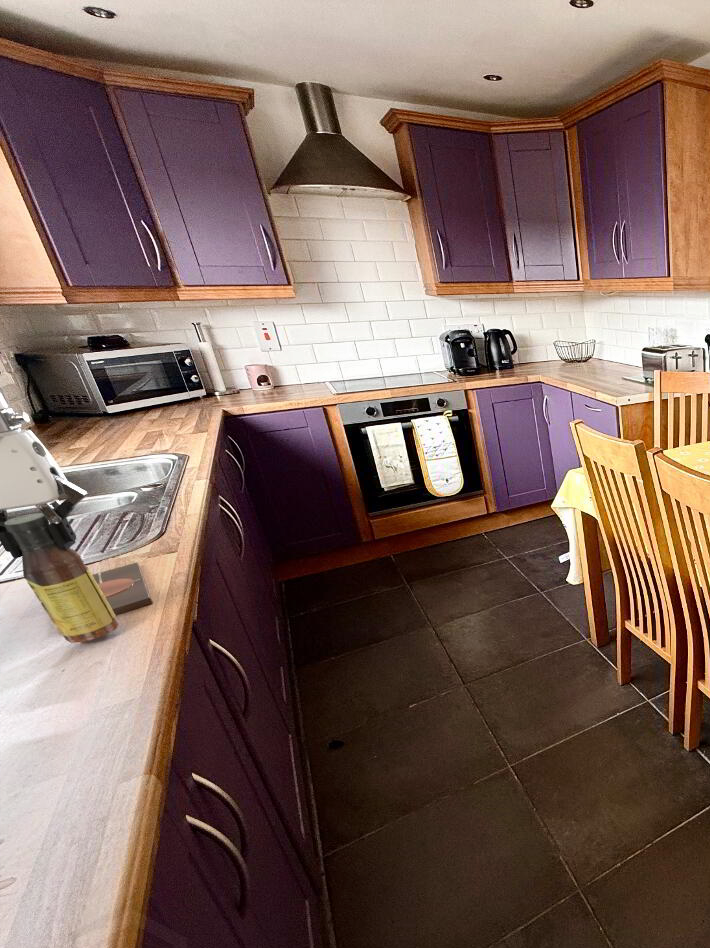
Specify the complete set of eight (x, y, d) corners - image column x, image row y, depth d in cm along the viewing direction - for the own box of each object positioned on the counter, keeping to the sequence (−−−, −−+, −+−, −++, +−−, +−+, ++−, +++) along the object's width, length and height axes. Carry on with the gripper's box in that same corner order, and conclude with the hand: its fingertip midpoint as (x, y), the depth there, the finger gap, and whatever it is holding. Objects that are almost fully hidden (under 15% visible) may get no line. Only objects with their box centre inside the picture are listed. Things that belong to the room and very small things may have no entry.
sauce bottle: (82, 627, 93) (15, 512, 85) (130, 620, 94) (68, 506, 86) (54, 650, 87) (-21, 528, 79) (105, 641, 89) (37, 521, 81)
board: (61, 589, 108) (58, 583, 107) (140, 567, 115) (137, 561, 114) (63, 631, 94) (59, 624, 93) (152, 603, 101) (149, 597, 100)
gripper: (71, 413, 84) (129, 529, 91) (-99, 430, 77) (-21, 554, 84) (47, 422, 78) (111, 546, 85) (-141, 442, 71) (-52, 575, 78)
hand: (45, 549), depth 85 cm, fingers closed on sauce bottle, 4 cm apart
